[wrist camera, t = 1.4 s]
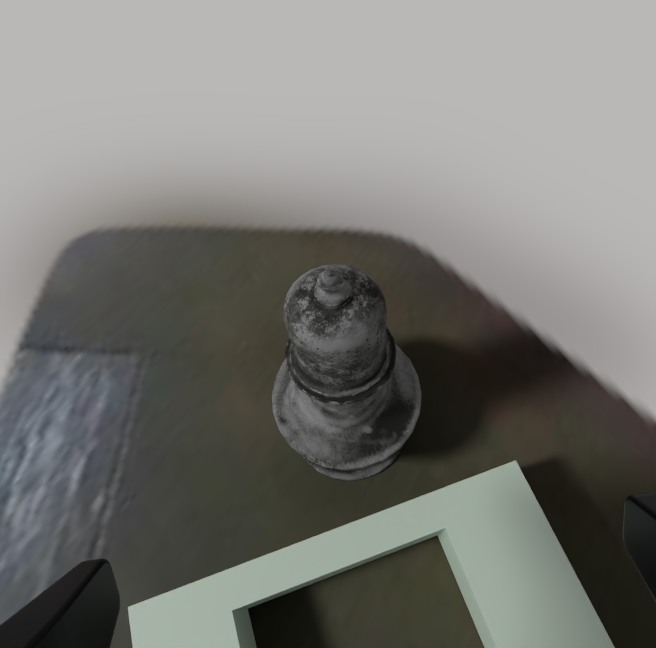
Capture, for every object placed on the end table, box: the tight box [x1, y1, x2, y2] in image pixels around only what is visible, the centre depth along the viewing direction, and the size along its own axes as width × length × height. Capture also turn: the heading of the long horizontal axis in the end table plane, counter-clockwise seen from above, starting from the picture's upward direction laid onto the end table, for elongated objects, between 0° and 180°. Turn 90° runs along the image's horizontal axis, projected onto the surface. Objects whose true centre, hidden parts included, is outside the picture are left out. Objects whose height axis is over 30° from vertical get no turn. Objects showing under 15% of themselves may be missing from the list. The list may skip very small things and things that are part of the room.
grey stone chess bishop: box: [272, 264, 422, 481], centre depth 17 cm, size 6×6×12 cm
